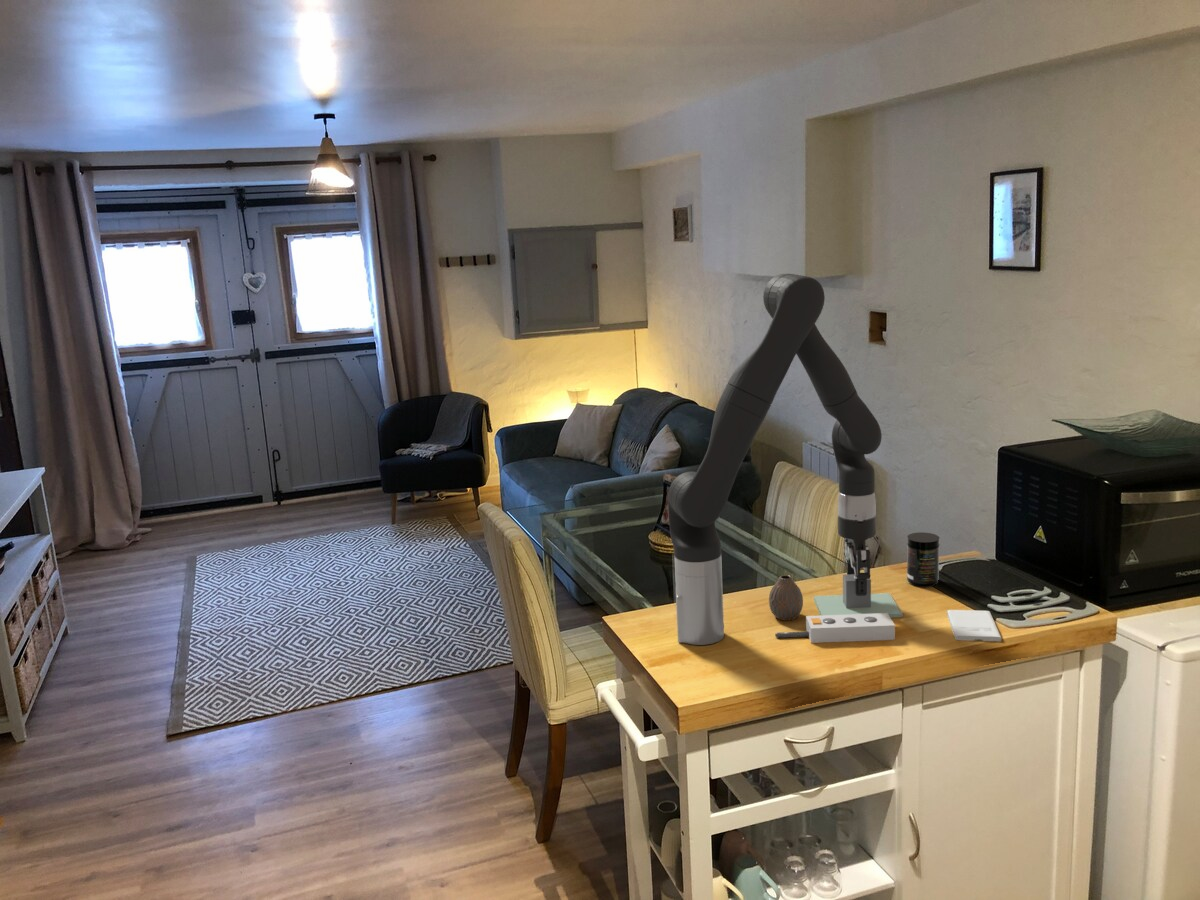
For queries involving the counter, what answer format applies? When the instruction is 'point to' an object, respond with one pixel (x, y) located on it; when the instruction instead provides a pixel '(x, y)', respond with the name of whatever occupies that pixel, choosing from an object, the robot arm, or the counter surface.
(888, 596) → the mat
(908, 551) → the supplement container
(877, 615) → the power strip
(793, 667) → the counter surface
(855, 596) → the plug
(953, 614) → the external hard drive
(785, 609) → the vase
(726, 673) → the counter surface
